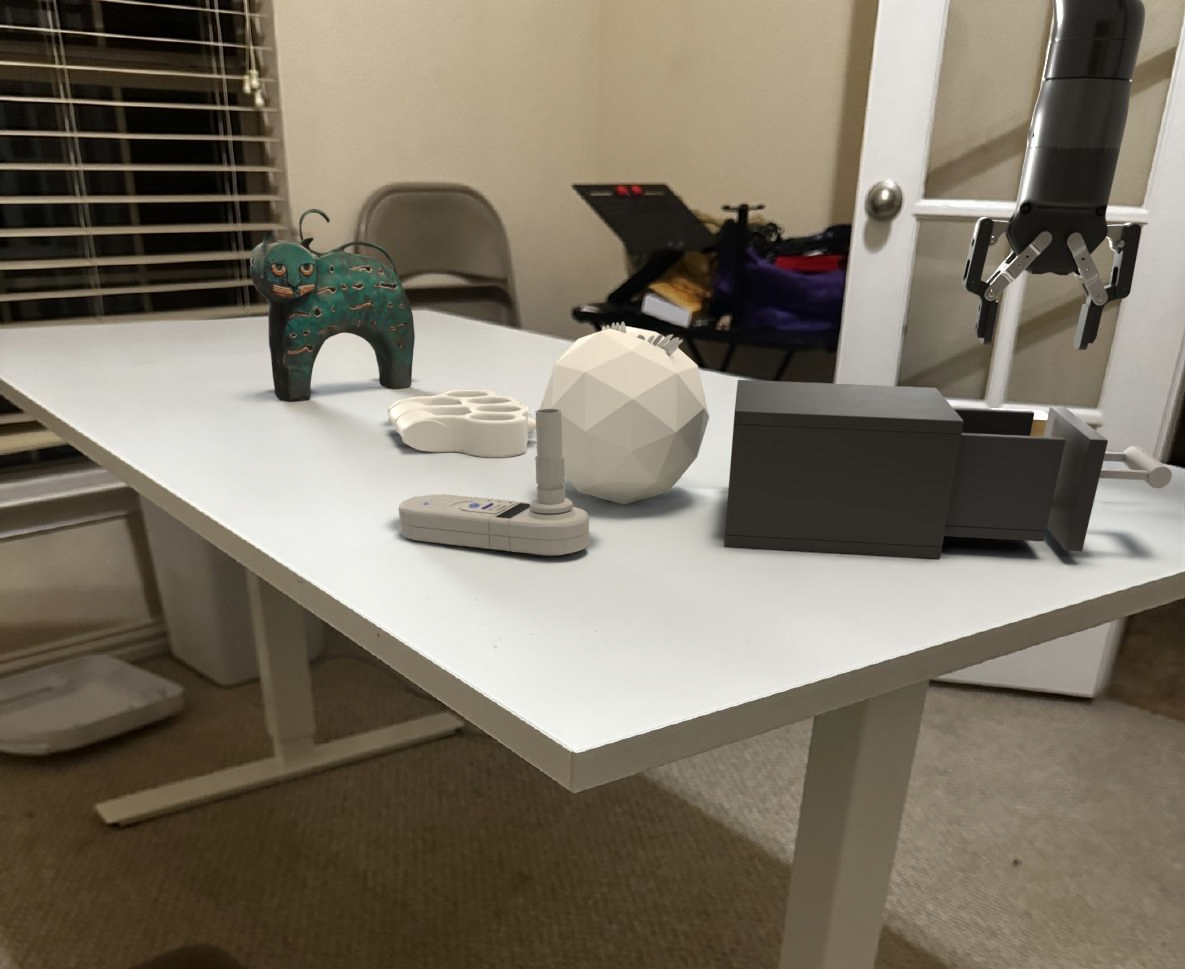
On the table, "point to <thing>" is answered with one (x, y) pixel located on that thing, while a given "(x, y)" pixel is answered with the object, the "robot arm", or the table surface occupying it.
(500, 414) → the white tray with wells
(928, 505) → the dark grey box
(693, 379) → the geodesic sphere
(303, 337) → the ceramic cat
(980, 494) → the open drawer
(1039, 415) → the block
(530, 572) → the table surface
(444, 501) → the electronic device
